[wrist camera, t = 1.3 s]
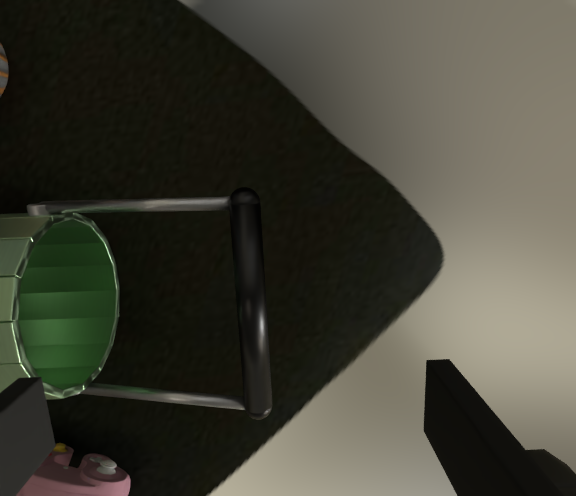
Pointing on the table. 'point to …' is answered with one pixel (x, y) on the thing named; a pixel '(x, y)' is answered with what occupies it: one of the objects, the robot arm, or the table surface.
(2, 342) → the bucket
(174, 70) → the table surface
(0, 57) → the vase
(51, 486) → the video game controller
